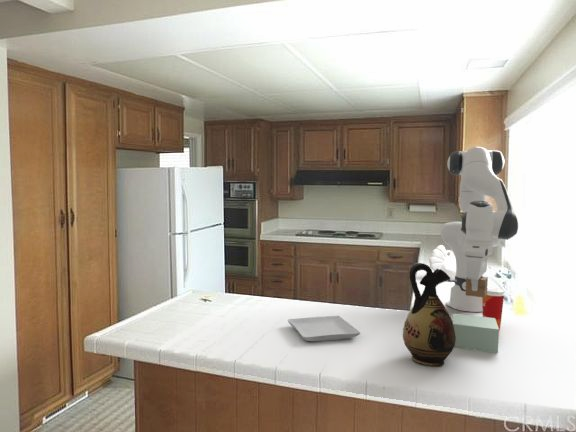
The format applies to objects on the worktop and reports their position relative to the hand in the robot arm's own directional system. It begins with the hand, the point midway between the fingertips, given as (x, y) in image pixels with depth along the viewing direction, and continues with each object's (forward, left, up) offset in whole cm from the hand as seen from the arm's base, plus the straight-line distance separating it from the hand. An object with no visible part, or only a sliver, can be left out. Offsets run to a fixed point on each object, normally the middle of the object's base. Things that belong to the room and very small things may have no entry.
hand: (476, 288), depth 152 cm
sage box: (0, 0, -19) cm, 19 cm away
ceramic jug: (+26, -10, -19) cm, 34 cm away
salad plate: (+21, -48, -20) cm, 56 cm away
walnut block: (0, 0, -2) cm, 2 cm away
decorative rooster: (-112, -32, -19) cm, 119 cm away
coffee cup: (-22, +3, -19) cm, 29 cm away
